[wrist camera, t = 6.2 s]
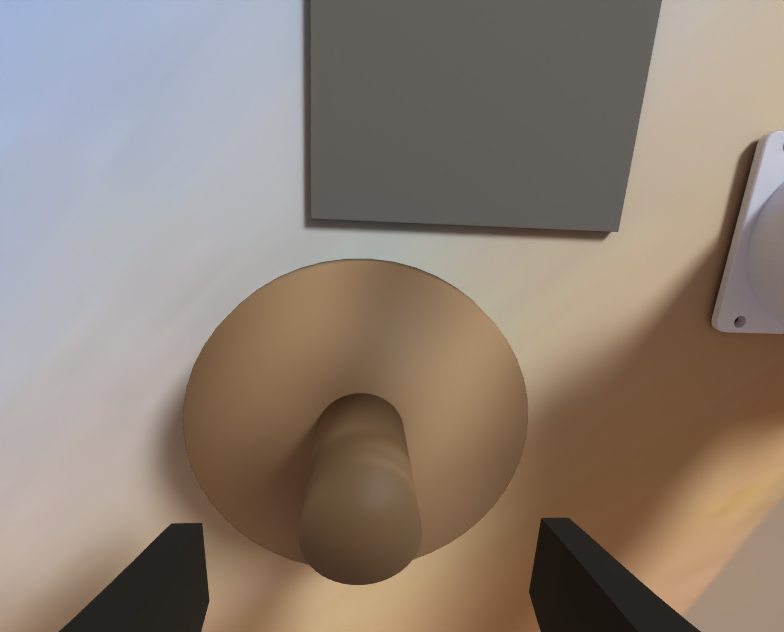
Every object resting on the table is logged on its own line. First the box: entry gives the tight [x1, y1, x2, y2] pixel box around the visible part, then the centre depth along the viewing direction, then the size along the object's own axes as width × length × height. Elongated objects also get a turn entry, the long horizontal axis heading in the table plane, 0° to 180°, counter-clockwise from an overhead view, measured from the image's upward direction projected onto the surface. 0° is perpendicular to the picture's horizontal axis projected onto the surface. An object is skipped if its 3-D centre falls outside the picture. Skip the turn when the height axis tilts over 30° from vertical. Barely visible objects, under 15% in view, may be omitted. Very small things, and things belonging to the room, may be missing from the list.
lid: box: [183, 259, 528, 585], centre depth 13 cm, size 11×11×5 cm
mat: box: [310, 0, 662, 232], centre depth 16 cm, size 12×12×1 cm
